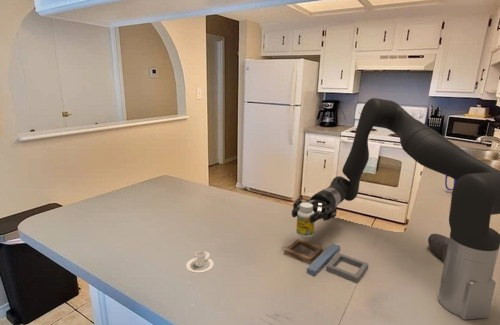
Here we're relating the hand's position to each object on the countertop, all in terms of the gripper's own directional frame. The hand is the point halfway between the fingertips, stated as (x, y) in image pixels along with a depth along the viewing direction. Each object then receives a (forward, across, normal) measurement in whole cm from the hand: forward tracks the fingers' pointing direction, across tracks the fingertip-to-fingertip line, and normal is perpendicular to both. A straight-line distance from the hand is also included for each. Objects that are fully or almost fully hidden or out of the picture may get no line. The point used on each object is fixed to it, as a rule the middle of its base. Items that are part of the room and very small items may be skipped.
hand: (302, 216), depth 90 cm
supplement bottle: (-3, 0, +7) cm, 7 cm away
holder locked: (-2, 0, +13) cm, 13 cm away
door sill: (-2, +7, +13) cm, 15 cm away
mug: (-102, +33, +15) cm, 108 cm away
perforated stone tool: (-28, +36, +14) cm, 47 cm away
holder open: (-2, +14, +13) cm, 19 cm away
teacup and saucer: (+21, -18, +14) cm, 31 cm away
